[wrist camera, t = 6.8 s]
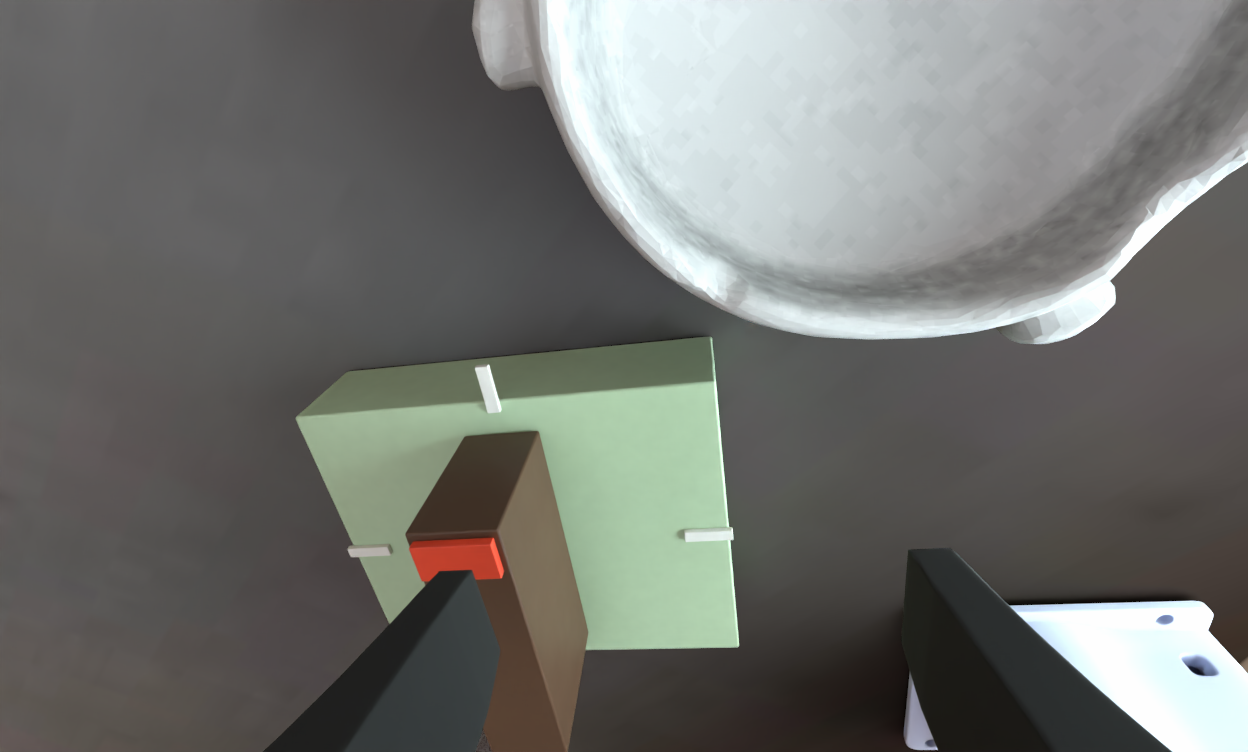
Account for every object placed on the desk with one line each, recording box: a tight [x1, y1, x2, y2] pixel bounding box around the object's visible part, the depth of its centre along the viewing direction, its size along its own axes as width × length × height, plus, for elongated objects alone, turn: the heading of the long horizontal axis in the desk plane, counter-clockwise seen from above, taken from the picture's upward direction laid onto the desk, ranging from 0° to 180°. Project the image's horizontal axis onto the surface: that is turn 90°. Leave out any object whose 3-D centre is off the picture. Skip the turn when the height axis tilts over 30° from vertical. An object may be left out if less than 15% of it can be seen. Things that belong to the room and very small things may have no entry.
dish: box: [472, 0, 1248, 344], centre depth 12 cm, size 14×14×5 cm
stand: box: [296, 337, 739, 650], centre depth 20 cm, size 12×12×3 cm
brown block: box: [405, 431, 589, 752], centre depth 16 cm, size 8×2×4 cm, turn 8°
